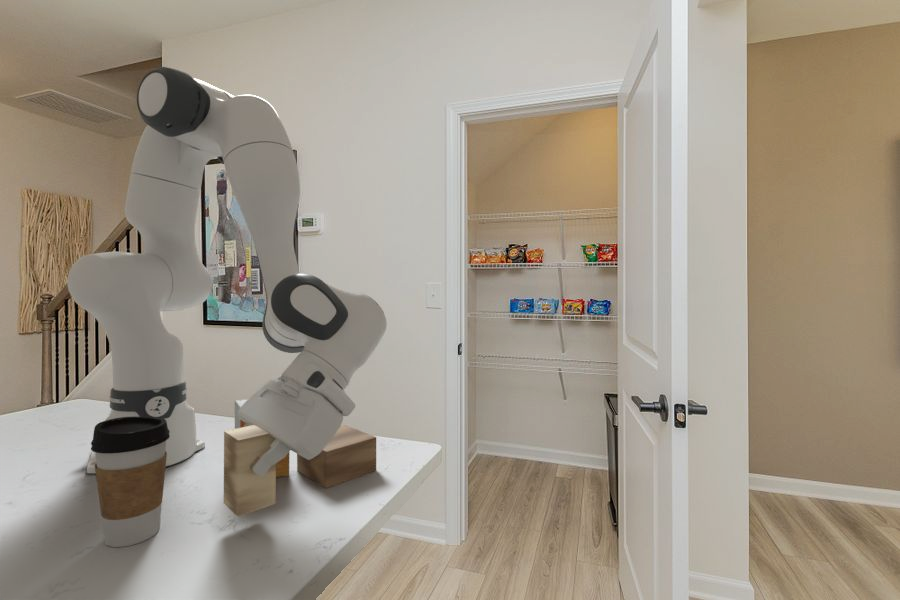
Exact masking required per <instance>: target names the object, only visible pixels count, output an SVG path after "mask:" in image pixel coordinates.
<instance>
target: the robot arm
mask: <svg viewBox="0 0 900 600" xmlns="http://www.w3.org/2000/svg"><path fill="white" fill-rule="evenodd" d="M136 106H137V109H138V112H139V115H140V118H141V119H142V121H143V122H144V123H145V124H146V126H145V127H144V130H143V132H142V135H140V136H141V137H140V139H139V141H138V144H137V147H136V151H135V153H134V157H133V160H132V166H131V169H130V170H131V171H130V176H129V181H128V187H127V193H126V198H125V205H124V217H125V220H127V222H128V223H129V224H130V225H131V226H132V227H133V228H135V229H136V230H137V231H138V233H139V235H140V237H141V240H142V245H143V246H142V247H143V251H142V253H140V252H139V253H138V252H137V253H136V252H126V251H116V250H114V251H107V252H106V251H105V252H104V251H103V252H96V253H90V254H85V255H82V256H80V258H78V259H77V260H76V261H75V262H74V263H73V265H72V266H71V267H70V270H69V272H68V275H67V280H66V281H67V282H66V284H67V289H68V292H69V294H70V296H71V298H72V300H73V301H74V302H75V303H76V305H78V307H80V308H82V309H84V311H87V312H88V313H89V314H90V315H92V316H93V318H94V319H95V320H96V321H97V322H98V323H99V324H100V326H101V327H102V329H103V331H104V333H105V335H106V337H107V339H108V343H109V346H110V353H111V361H112V362H111V363H112V385H113V387H112V388H111V389H110V392H109V393H110V394H109V409H110V411H109V413H108V415H107V417H106V418H105V419H104V421H106V420H110V419H115V418H120V417H156V418H162V419H165V420H166V422H167V427H168V430H169V431H170V433H169V435H170V437H169V439H167V440H166V448H165V451H166V452H167V457H166V467H168V466H172V465H175V464H178V463H180V462H182V461H185V460H187V459H188V458H190V457H192V455H193V454H195V453H196V452H197V451H199V450H202V449H203V448H205V447H206V444H205V441H204V440H201V439H198V438H197V423H196V411H195V408H194V407H192V406H191V405H189V404H188V403H187V401H186V400H187V393H188V390H187V389H188V387H187V382H186V381H185V380H184V346H183V343H182V341H181V340H180V338H179V337H178V336H176V335H174V334H173V333H170V332H169V331H168V330H167V329H166V326H165V325H164V323H163V320H162V317H161V312H173V311H183V310H186V309H190V308H193V307H197V306H198V305H199V306H200V305H202V304H204V302H206V301H207V300H208V298H209V296H210V294H211V293H212V288H213V280H212V279H213V278H212V276H211V273H210V272H209V270H208V268H207V267H206V266H205V265H204V264H203V262H202V260H201V258H200V256H199V252H198V249H197V244H196V236H195V235H196V232H195V230H196V229H195V228H196V220H197V219H196V218H197V212H198V207H199V199H200V195H201V187H202V184H203V182H202V181H203V177H204V176H203V175H204V172H205V171H204V170H205V168H206V166H207V164H208V163H209V162H210V161H211V160H212V159H215V158H217V160H218V161H219V162H220V163H221V164H222V165H224V168H225V172H226V175H227V178H228V181H229V184H230V186H231V189H232V191H233V195H234V198H235V200H236V202H237V204H238V207H239V209H240V211H241V214H242V216H243V219H244V221H245V223H246V224H245V225H246V226H247V229H248V231H249V234H250V236H251V240H252V242H253V245H254V248H255V253H256V258H257V261H258V265H259V270H260V273H261V274H260V275H261V278H262V282H263V286H264V291H265V298H266V301H265V302H266V303H265V304H266V305H265V309H264V313H263V317H262V324H261V326H262V332H263V335H264V338H265V339H266V341H267V342H268V343H269V344H270V345H271V346H272V347H273V348H275V349H276V350H278V351H281V352H283V353H288V354H297V356H296V357H295V358H294V360H292V362H291V363H290V364H289V365H288V366H287V368H285V370H283V372H282V373H281V375H280V377H278V378H274V379H269V380H267V381H265V383H263V384H262V385H261V386H260V387H259V388H258V389H256V391H254V392H253V393H252V395H250V397H249V398H248V400H247V401H246V402H245V403H244V404H243V405H242V406H241V407H240V409H239V411H238V413H237V417H238V418H240V419H241V420H242V421H243V422H245V423H246V424H247V425H248V426H251V425H256V426H257V427H259V428H261V429H263V430H265V431H266V432H268V433H270V435H271V436H272V437H274V438H275V440H274V442H273V443H272V444H271V445H270V447H271V449H269V450H268V451H267V452H266V453H265V454H264V455H262V456H261V457H258V456H257V457H256V459H255V460H254V462H253V463H252V464H251V465H250V469H251V470H252V471H253V472H254V473H256V474H257V475H259V476H264V475H265V473H266V472H267V471H268V470H269V468H270V467H271V466H273V465H274V464H276V463H277V462H279V461H280V460H282V459H283V458H285V457H286V455H287V454H288V453H289V454H290V452H291V451H292V452H293V453H295V454H296V455H297V454H299V455H300V456H302V457H304V458H306V459H307V460H310V459H312V458H314V457H315V456H317V455H319V454H320V453H321V452H322V450H323V449H324V448H325V447H326V445H327V444H328V443H329V441H330V440H331V439H332V437H333V436H334V435H335V433H336V432H337V430H338V429H339V427H340V426H342V424H343V421H344V417H348V416H350V415H351V414H352V413H353V411H354V410H355V408H356V404H355V402H354V401H353V400H352V398H351V397H350V396H349V395H348V394H347V392H345V390H346V388H347V387H348V386H349V384H350V383H351V380H352V378H353V375H354V374H355V373H356V371H357V370H359V368H361V367H362V366H364V365H365V364H366V362H367V361H369V359H370V357H371V355H372V354H373V353H374V351H375V350H376V348H377V347H378V345H379V344H380V342H381V341H382V339H383V337H384V335H385V333H386V330H387V325H388V324H387V317H386V316H385V312H384V311H383V309H382V307H381V306H380V305H379V303H378V302H377V301H376V300H375V299H373V298H372V297H370V296H369V295H367V294H365V293H363V292H355V293H354V292H350V291H349V292H348V291H346V290H345V291H344V290H341V289H339V288H336V287H335V286H331V285H329V284H328V283H326V282H324V281H323V280H322V279H321V278H318V277H317V276H315V275H312V274H307V273H300V269H299V265H298V260H297V256H296V252H295V247H294V233H295V232H294V230H295V222H296V217H297V213H298V207H299V202H300V198H301V184H300V183H301V182H300V174H299V168H298V163H297V159H296V156H295V153H294V150H293V146H292V143H291V141H290V138H289V135H288V133H287V131H286V129H285V127H284V124H283V123H282V120H281V118H280V116H279V115H278V113H277V111H276V110H275V108H274V107H273V105H272V104H271V103H270V102H269V101H267V100H266V99H264V98H262V97H259V96H256V95H253V94H239V95H235V96H234V95H232V94H230V93H229V92H227V91H225V90H223V89H222V88H219V87H216V86H213V85H211V84H209V83H207V82H205V81H203V80H200V79H197V78H195V77H192V76H191V75H190V74H189V73H187V72H184V71H181V70H179V69H175V68H172V67H166V66H160V67H155V68H154V69H152V70H151V71H149V72H147V73H146V74H145V75H144V76H143V78H142V79H141V81H140V82H139V85H138V88H137V93H136ZM298 353H299V354H298ZM95 464H96V455H95V452H93V451H92V450H91V455H90V458H89V461H88V464H87V467H86V473H87V474H96V472H95Z"/></svg>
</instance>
